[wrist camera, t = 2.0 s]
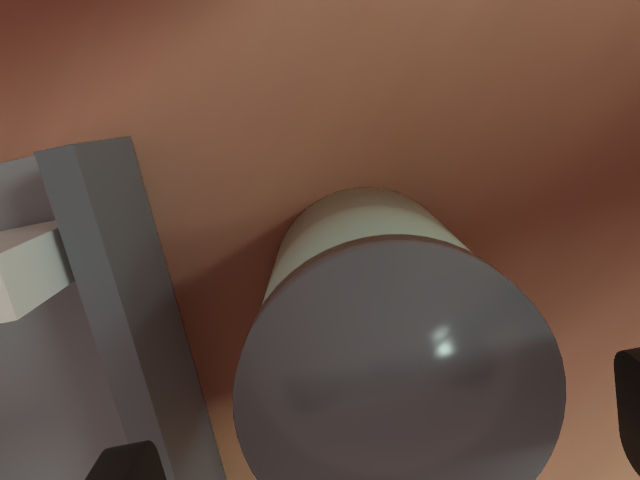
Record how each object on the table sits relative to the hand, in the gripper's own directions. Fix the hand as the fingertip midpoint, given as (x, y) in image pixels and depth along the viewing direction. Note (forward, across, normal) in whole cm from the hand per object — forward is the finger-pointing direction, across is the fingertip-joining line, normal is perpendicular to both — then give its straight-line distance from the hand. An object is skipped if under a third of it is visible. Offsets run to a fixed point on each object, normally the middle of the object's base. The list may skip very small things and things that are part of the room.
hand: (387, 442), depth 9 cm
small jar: (+9, 0, 0) cm, 9 cm away
